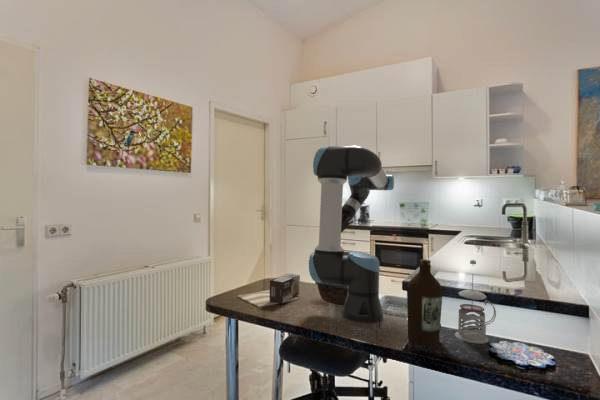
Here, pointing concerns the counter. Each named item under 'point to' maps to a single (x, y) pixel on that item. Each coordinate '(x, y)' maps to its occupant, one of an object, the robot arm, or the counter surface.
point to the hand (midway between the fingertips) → (325, 243)
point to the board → (260, 298)
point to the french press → (473, 317)
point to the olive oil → (424, 306)
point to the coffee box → (284, 288)
